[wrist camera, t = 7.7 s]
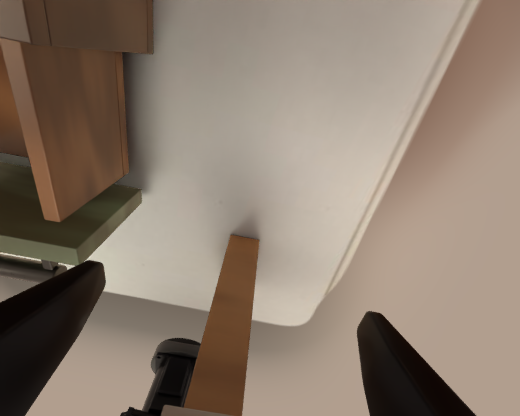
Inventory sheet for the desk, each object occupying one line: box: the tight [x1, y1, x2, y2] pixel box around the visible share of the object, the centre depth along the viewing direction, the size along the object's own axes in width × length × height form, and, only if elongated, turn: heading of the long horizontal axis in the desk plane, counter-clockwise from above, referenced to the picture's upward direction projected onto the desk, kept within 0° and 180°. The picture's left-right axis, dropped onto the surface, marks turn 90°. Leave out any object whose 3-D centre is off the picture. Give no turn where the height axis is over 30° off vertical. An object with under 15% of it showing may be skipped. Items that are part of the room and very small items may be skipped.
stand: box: [184, 235, 259, 416], centre depth 18 cm, size 5×2×13 cm, turn 169°
